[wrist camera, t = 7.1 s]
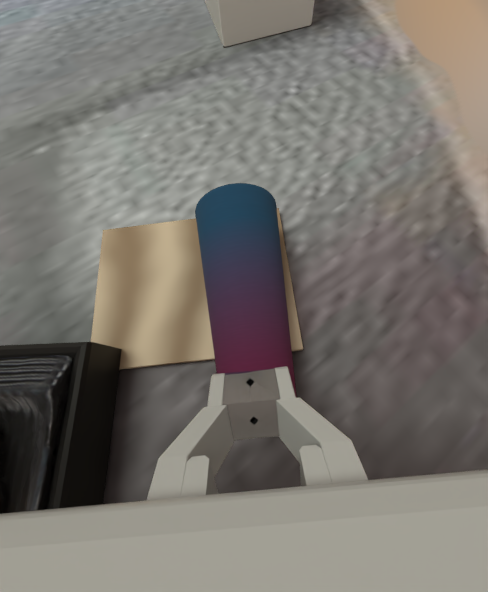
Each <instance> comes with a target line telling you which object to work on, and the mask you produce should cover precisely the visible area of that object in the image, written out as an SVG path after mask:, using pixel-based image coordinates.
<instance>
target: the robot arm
mask: <svg viewBox="0 0 488 592" xmlns="http://www.w3.org/2000/svg"><path fill="white" fill-rule="evenodd" d="M277 436H279V437H280V439H281V440H282V441H283V443H284V444H285V445H286V446H287V448H288V449H289V450H290V451H291V453H292V454H293V455H294V457H295V458H296V459H297V460H298V462H299V463H300V480H301V486H299V487H288V488H278V489H267V490H256V491H244V492H233V493H222V494H219V493H218V490H217V486H216V482H215V479H214V478H215V476H216V474H217V472H218V470H219V469H220V467H221V465H222V463H223V461H224V460H225V458H226V456H227V454H228V452H229V450H230V449H231V447H232V445H233V443H234V441H236V440H244V439H252V438H256V437H257V438H262V437H277ZM0 592H488V469H484V470H473V471H462V472H451V473H440V474H429V475H418V476H407V477H396V478H385V479H374V480H368V478H367V476H366V473H365V471H364V469H363V466H362V464H361V462H360V459H359V457H358V455H357V452H356V450H355V448H354V445H353V443H352V441H351V440H350V439H349V438H348V437H347V436H345V435H344V434H343V433H342V432H341V431H339V430H338V429H337V428H336V427H335V426H333V425H332V424H331V423H330V422H329V421H327V420H326V419H325V418H324V417H323V416H321V415H320V414H319V413H318V412H317V411H315V410H314V409H313V408H312V407H311V406H309V405H308V404H307V403H306V402H305V401H303V400H302V399H301V398H296V396H295V392H294V388H293V385H292V381H291V377H290V373H289V369H288V367H287V366H285V367H277V368H270V369H262V370H253V371H242V372H230V373H220V374H213V375H212V377H211V383H210V390H209V397H208V405H207V407H203V408H202V410H201V411H200V412H199V413H198V414H197V415H196V416H195V418H194V419H193V420H192V421H191V422H190V423H189V424H188V425H187V427H186V428H185V429H184V430H183V431H182V432H181V433H180V435H179V436H178V437H177V438H176V439H175V440H174V441H173V443H172V444H171V445H170V446H169V447H168V448H167V449H166V451H165V452H164V453H163V454H162V455H161V456H160V457H159V459H158V462H157V466H156V469H155V473H154V476H153V480H152V483H151V486H150V490H149V493H148V497H147V500H145V501H134V502H123V503H112V504H101V505H90V506H79V507H68V508H58V509H47V510H36V511H25V512H14V513H3V514H0Z"/></svg>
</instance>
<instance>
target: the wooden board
mask: <svg viewBox="0 0 488 592" xmlns="http://www.w3.org/2000/svg"><path fill="white" fill-rule="evenodd" d="M277 217H278V227H279V236H280V246H281V255H282V264H283V274H284V283H285V293H286V302H287V311H288V321H289V330H290V339H291V349H292V351H300V350H303V345H302V340H301V334H300V328H299V322H298V317H297V311H296V305H295V299H294V294H293V288H292V282H291V276H290V271H289V265H288V259H287V253H286V248H285V242H284V236H283V230H282V225H281V219H280V213H279V208H277ZM91 342H95V343H99V344H103V345H107V346H111V347H115V348H120V349H122V351H121V359H120V368H119V370H122V369H131V368H140V367H150V366H159V365H168V364H178V363H187V362H197V361H206V360H215V356H214V348H213V341H212V334H211V326H210V319H209V311H208V304H207V296H206V289H205V282H204V274H203V267H202V259H201V252H200V245H199V237H198V230H197V222H196V219H188V220H180V221H172V222H164V223H156V224H148V225H140V226H132V227H124V228H116V229H108V230H103V236H102V245H101V254H100V263H99V272H98V281H97V291H96V300H95V309H94V318H93V327H92V336H91Z"/></svg>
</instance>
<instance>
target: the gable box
mask: <svg viewBox="0 0 488 592" xmlns="http://www.w3.org/2000/svg"><path fill="white" fill-rule="evenodd" d="M204 1H205V3H206V6H207V8H208V11H209V13H210V16H211V18H212V20H213V23H214V25H215V28H216V30H217V33H218V35H219V38H220V40H221V42H222V45H223V46H224V47H228V46H232V45H235V44H239V43H243V42H247V41H251V40H255V39H259V38H263V37H267V36H271V35H275V34H279V33H283V32H287V31H291V30H295V29H299V28H303V27H307V26H310V25H311V24H312V17H313V10H314V2H315V0H204Z"/></svg>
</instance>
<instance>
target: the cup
mask: <svg viewBox="0 0 488 592" xmlns="http://www.w3.org/2000/svg"><path fill="white" fill-rule="evenodd" d="M195 214H196V222H197V230H198V237H199V245H200V252H201V259H202V267H203V274H204V282H205V289H206V296H207V304H208V311H209V319H210V326H211V334H212V341H213V348H214V356H215V363H216V371H217V374H220V373H230V372H242V371H253V370H262V369H270V368H277V367H285V366H287V367H288V369H289V373H290V377H291V381H292V385H293V388H294V392H295V396H296V386H295V377H294V368H293V358H292V349H291V339H290V330H289V321H288V311H287V302H286V293H285V283H284V274H283V264H282V255H281V246H280V236H279V227H278V217H277V208H276V202H275V199H274V198H273V196H272V195H271V194H270V193H269V192H268V191H267V190H265V189H263V188H262V187H259V186H256V185H252V184H246V183H235V184H228V185H224V186H221V187H218V188H216V189H213V190H211V191H210V192H208V193H207V194H205V195H204V196H203V197H202V198H201V199H200V201H199V202H198V204H197V206H196V210H195ZM296 398H297V396H296Z"/></svg>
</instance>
